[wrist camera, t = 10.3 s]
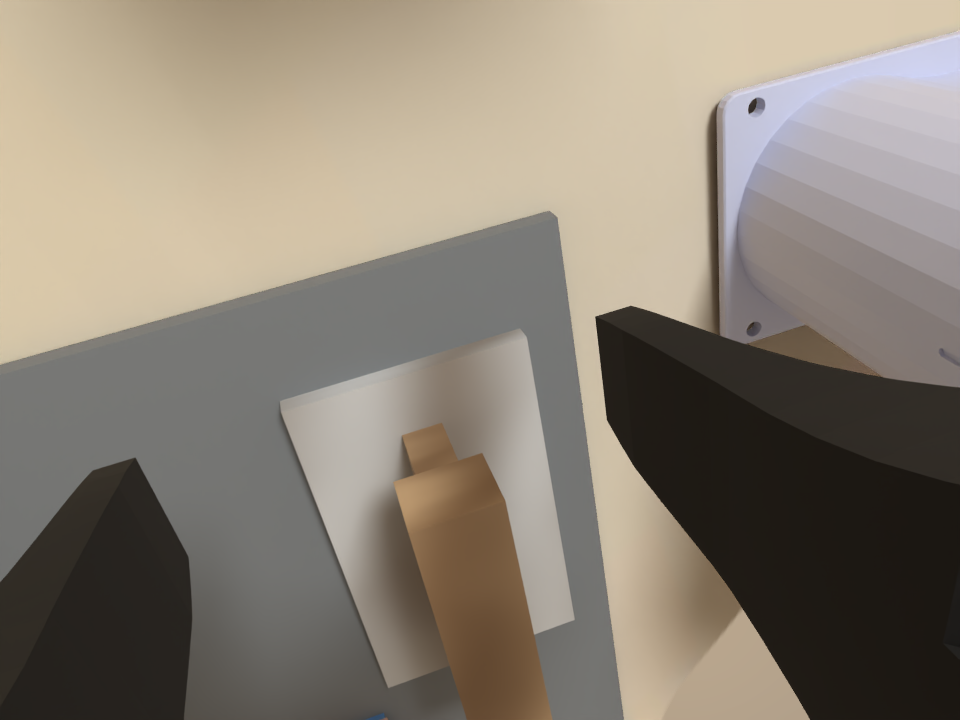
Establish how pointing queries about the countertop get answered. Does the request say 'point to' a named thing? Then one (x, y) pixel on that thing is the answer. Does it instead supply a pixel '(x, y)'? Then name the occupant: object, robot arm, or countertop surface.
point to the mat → (281, 479)
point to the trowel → (444, 518)
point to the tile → (378, 717)
